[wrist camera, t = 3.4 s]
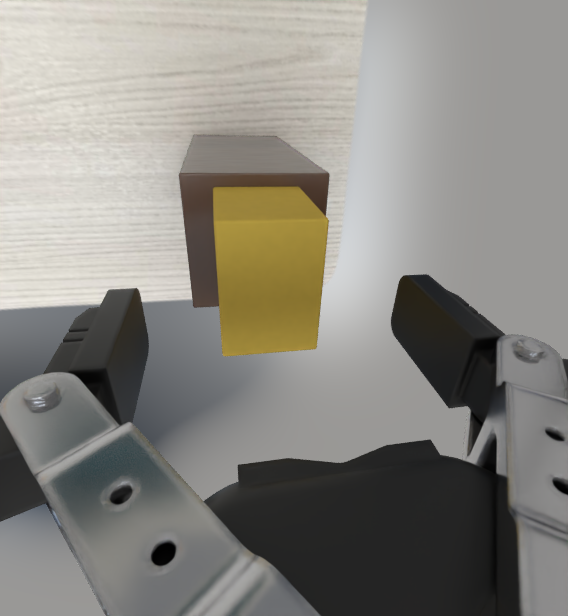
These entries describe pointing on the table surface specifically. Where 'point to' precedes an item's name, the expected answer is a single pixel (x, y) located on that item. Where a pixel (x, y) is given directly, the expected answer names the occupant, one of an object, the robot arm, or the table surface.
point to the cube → (268, 268)
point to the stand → (235, 173)
